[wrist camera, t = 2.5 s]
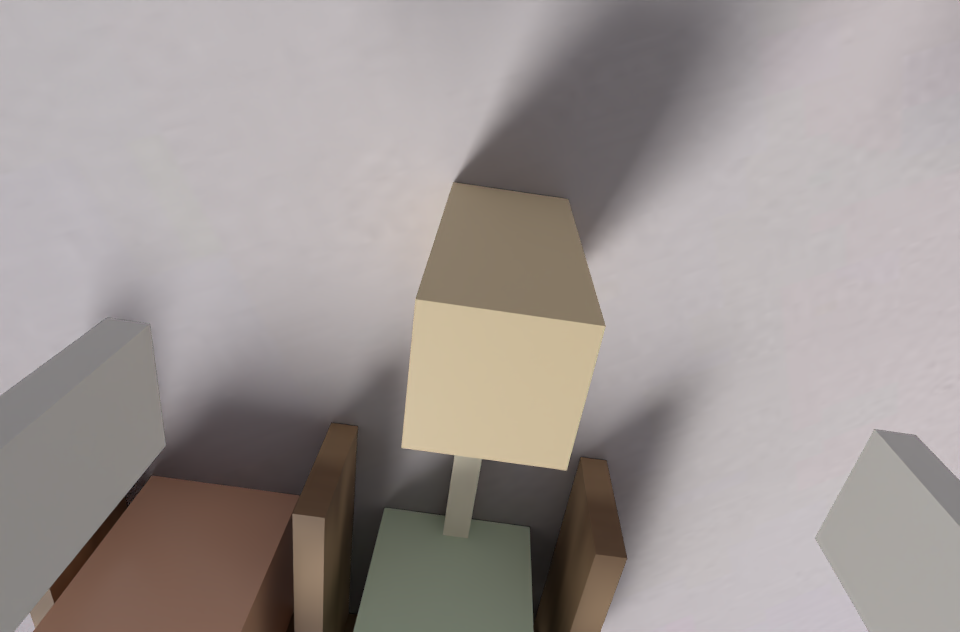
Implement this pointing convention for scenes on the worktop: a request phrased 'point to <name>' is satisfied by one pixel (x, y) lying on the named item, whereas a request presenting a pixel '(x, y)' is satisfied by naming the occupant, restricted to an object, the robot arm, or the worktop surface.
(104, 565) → the terracotta block
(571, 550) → the lane rack
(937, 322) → the worktop surface
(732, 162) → the worktop surface
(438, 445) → the tethered block
